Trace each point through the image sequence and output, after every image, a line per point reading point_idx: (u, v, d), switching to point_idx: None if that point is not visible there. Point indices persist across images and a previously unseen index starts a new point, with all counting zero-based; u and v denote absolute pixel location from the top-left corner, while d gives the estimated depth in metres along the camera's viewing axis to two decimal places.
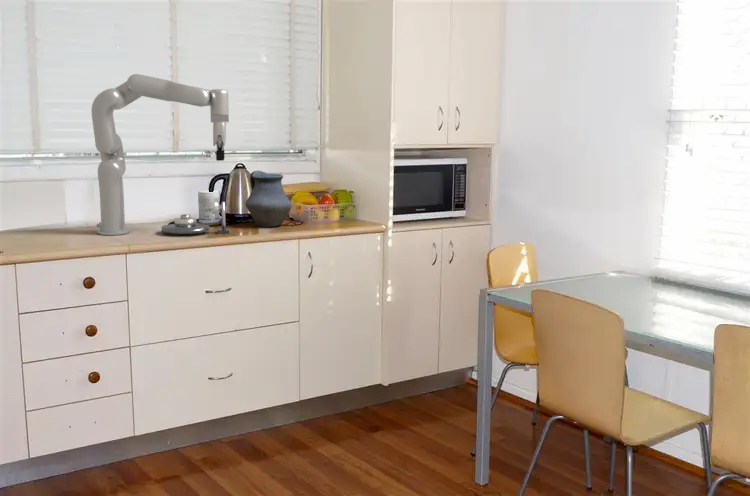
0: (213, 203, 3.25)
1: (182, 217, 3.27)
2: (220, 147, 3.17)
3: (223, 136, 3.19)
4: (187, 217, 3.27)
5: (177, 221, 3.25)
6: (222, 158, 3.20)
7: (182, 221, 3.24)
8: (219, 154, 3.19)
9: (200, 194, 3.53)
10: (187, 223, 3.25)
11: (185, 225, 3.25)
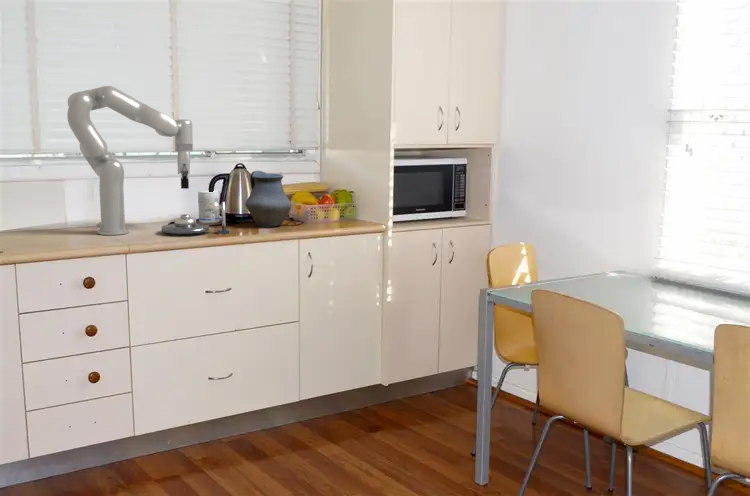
0: (213, 203, 3.25)
1: (182, 217, 3.27)
2: (185, 176, 3.27)
3: (188, 165, 3.29)
4: (187, 217, 3.27)
5: (177, 221, 3.25)
6: (187, 186, 3.30)
7: (182, 221, 3.24)
8: (184, 182, 3.29)
9: (200, 194, 3.53)
10: (187, 223, 3.25)
11: (185, 225, 3.25)
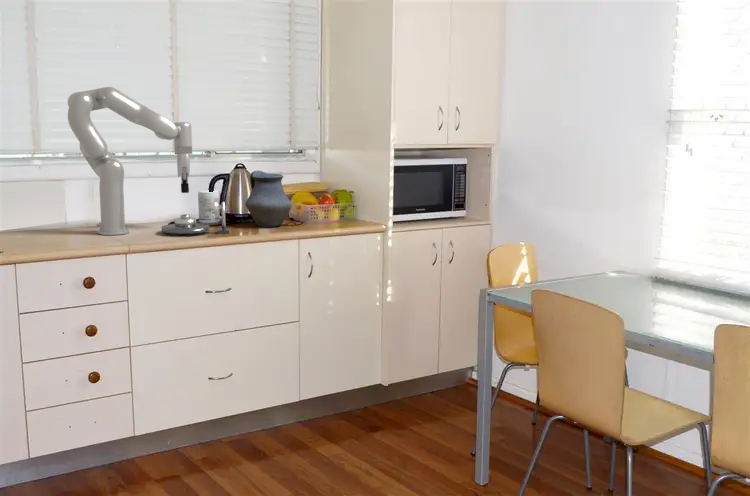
0: (213, 203, 3.25)
1: (182, 217, 3.27)
2: None
3: (187, 167, 3.30)
4: (187, 217, 3.27)
5: (177, 221, 3.25)
6: (187, 190, 3.35)
7: (182, 221, 3.24)
8: (184, 187, 3.34)
9: (200, 194, 3.53)
10: (187, 223, 3.25)
11: (185, 225, 3.25)
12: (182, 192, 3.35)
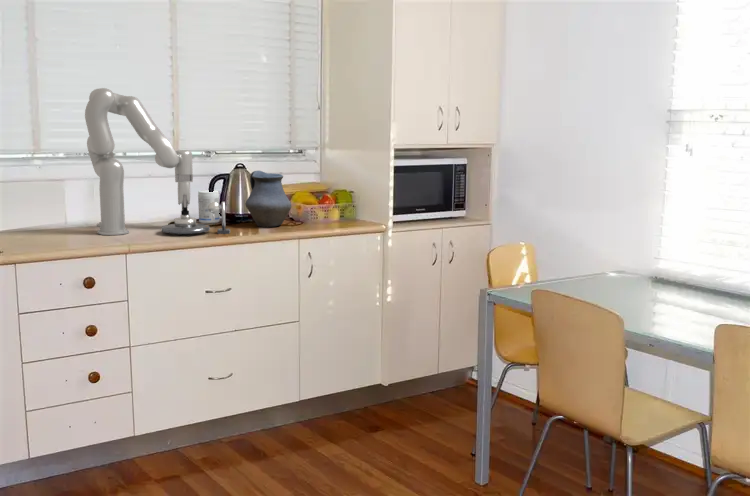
0: (213, 203, 3.25)
1: (182, 217, 3.27)
2: (185, 208, 3.35)
3: (188, 195, 3.32)
4: (187, 217, 3.27)
5: (177, 221, 3.25)
6: None
7: (182, 221, 3.24)
8: (184, 214, 3.36)
9: (200, 194, 3.53)
10: (187, 223, 3.25)
11: (185, 225, 3.25)
12: None
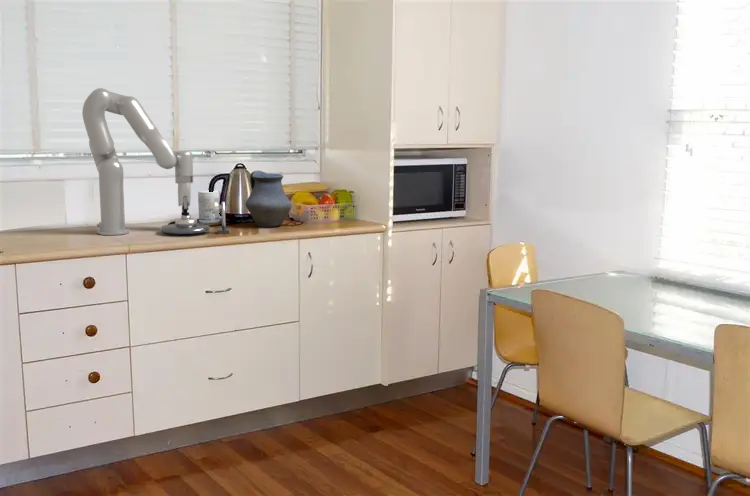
0: (213, 203, 3.25)
1: (183, 217, 3.25)
2: None
3: (188, 197, 3.27)
4: (188, 217, 3.26)
5: (178, 221, 3.24)
6: None
7: (183, 221, 3.23)
8: None
9: (200, 194, 3.53)
10: (188, 223, 3.23)
11: (186, 225, 3.23)
12: None
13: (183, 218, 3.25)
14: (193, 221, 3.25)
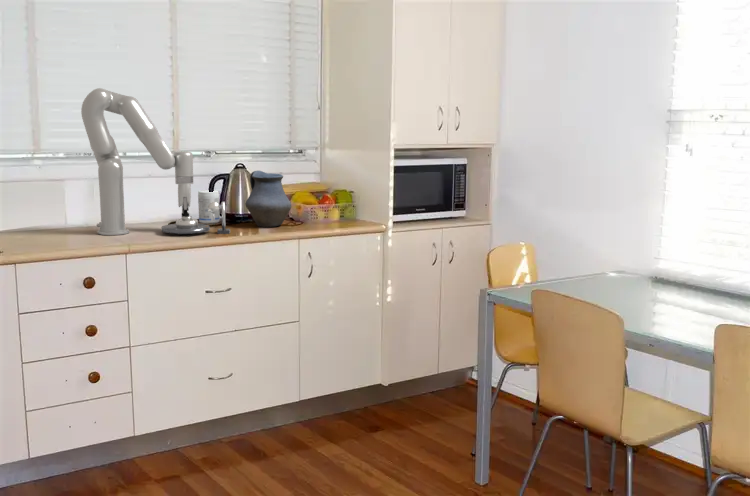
0: (213, 203, 3.25)
1: (184, 218, 3.23)
2: None
3: (188, 197, 3.25)
4: (189, 218, 3.23)
5: (179, 222, 3.21)
6: None
7: (184, 222, 3.20)
8: None
9: (200, 194, 3.53)
10: (189, 224, 3.21)
11: (187, 226, 3.21)
12: None
13: (184, 219, 3.23)
14: (194, 222, 3.22)
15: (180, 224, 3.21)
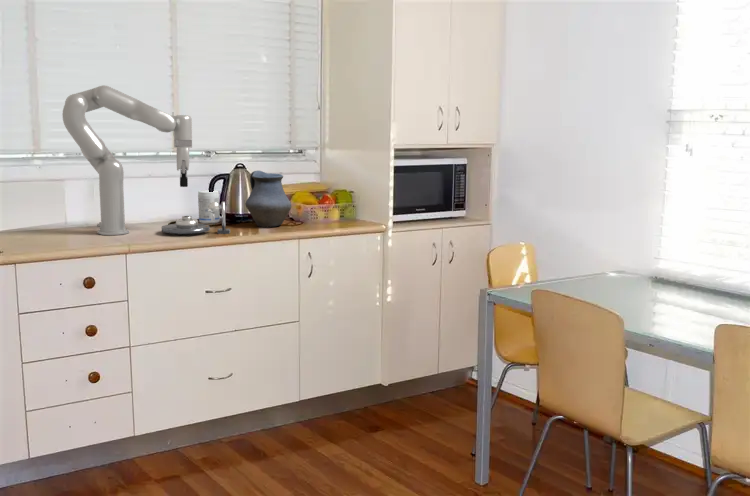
0: (213, 203, 3.25)
1: (184, 218, 3.23)
2: (184, 174, 3.28)
3: (187, 161, 3.26)
4: (189, 218, 3.23)
5: (179, 222, 3.21)
6: (186, 184, 3.31)
7: (184, 222, 3.20)
8: (183, 181, 3.30)
9: (200, 194, 3.53)
10: (189, 224, 3.21)
11: (187, 226, 3.21)
12: (181, 186, 3.31)
13: (184, 219, 3.23)
14: (194, 222, 3.22)
15: (180, 224, 3.21)
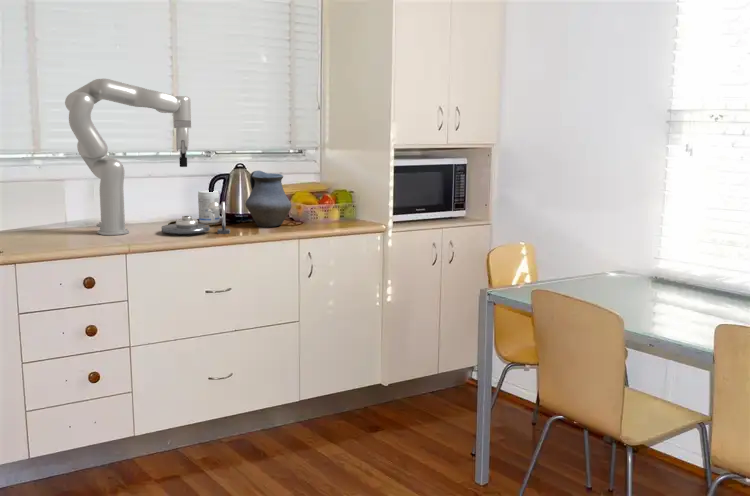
0: (213, 203, 3.25)
1: (184, 218, 3.23)
2: (183, 154, 3.34)
3: (186, 141, 3.31)
4: (189, 218, 3.23)
5: (179, 222, 3.21)
6: (185, 164, 3.37)
7: (184, 222, 3.20)
8: (182, 161, 3.36)
9: (200, 194, 3.53)
10: (189, 224, 3.21)
11: (187, 226, 3.21)
12: (180, 166, 3.37)
13: (184, 219, 3.23)
14: (194, 222, 3.22)
15: (180, 224, 3.21)
